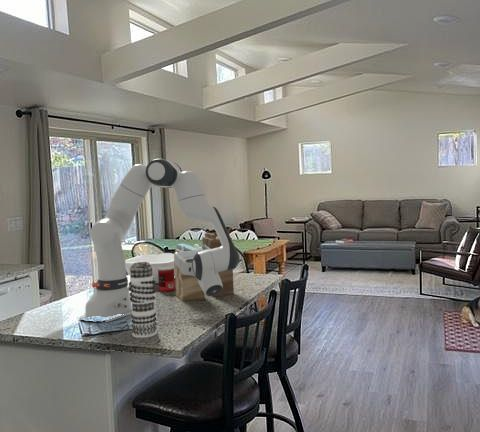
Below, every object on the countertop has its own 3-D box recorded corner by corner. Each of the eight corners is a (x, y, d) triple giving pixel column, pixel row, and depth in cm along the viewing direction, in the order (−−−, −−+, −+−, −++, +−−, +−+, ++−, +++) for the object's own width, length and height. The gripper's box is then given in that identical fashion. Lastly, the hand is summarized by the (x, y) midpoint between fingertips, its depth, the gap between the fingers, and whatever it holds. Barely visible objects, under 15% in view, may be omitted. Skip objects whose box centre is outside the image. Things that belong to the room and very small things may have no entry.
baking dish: (146, 274, 290) (145, 252, 290) (192, 275, 282) (191, 253, 281) (114, 287, 258) (113, 262, 257) (165, 288, 249) (164, 263, 249)
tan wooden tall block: (204, 298, 227) (202, 250, 225) (183, 300, 223) (180, 252, 221) (196, 292, 238) (194, 247, 236) (175, 295, 234) (173, 249, 232)
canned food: (176, 288, 250) (175, 266, 249) (172, 291, 242) (171, 269, 241) (161, 288, 251) (160, 266, 250) (157, 292, 243) (156, 269, 242)
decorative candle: (160, 329, 181) (156, 260, 179) (154, 337, 172) (151, 265, 170) (135, 330, 181) (131, 261, 179) (128, 338, 172) (124, 265, 170)
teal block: (200, 256, 217) (200, 249, 217) (192, 257, 216) (192, 250, 216) (183, 249, 241) (183, 243, 241) (176, 250, 240) (176, 244, 240)
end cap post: (233, 294, 232) (231, 233, 230) (213, 296, 228) (210, 235, 226) (224, 289, 243) (222, 231, 241) (204, 291, 239) (202, 233, 237)
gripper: (227, 258, 212) (216, 238, 223) (180, 262, 204) (171, 242, 215) (224, 269, 216) (214, 250, 226) (178, 274, 208) (170, 254, 218)
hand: (193, 246), depth 221 cm, fingers open, 8 cm apart
